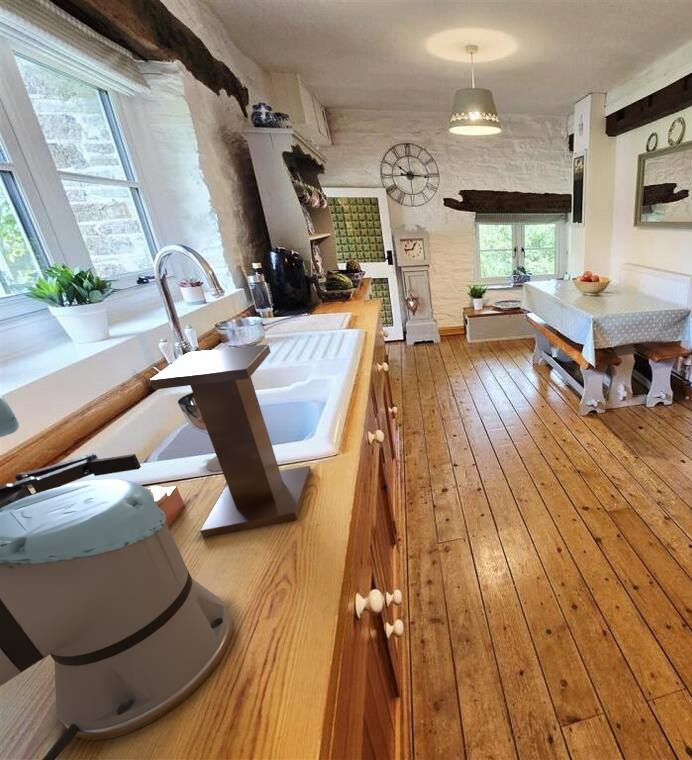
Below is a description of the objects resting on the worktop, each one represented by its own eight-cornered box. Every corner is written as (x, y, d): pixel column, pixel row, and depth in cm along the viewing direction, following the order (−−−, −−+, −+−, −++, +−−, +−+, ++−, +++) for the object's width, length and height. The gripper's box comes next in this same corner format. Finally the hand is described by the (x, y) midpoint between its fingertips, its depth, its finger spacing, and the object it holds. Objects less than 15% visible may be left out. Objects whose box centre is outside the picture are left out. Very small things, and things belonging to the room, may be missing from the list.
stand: (202, 537, 65) (136, 383, 55) (232, 485, 78) (183, 351, 67) (297, 519, 68) (251, 370, 58) (311, 471, 81) (276, 341, 70)
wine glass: (256, 450, 89) (235, 387, 83) (230, 472, 82) (205, 405, 76) (222, 449, 90) (199, 387, 84) (193, 471, 82) (166, 405, 76)
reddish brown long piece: (35, 556, 63) (20, 532, 61) (67, 524, 69) (54, 502, 67) (165, 531, 67) (154, 508, 65) (184, 504, 73) (175, 482, 71)
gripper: (24, 482, 73) (161, 461, 78) (-135, 601, 51) (69, 562, 56) (2, 446, 70) (145, 427, 75) (-177, 556, 48) (42, 519, 53)
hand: (113, 484), depth 65 cm, fingers open, 13 cm apart
